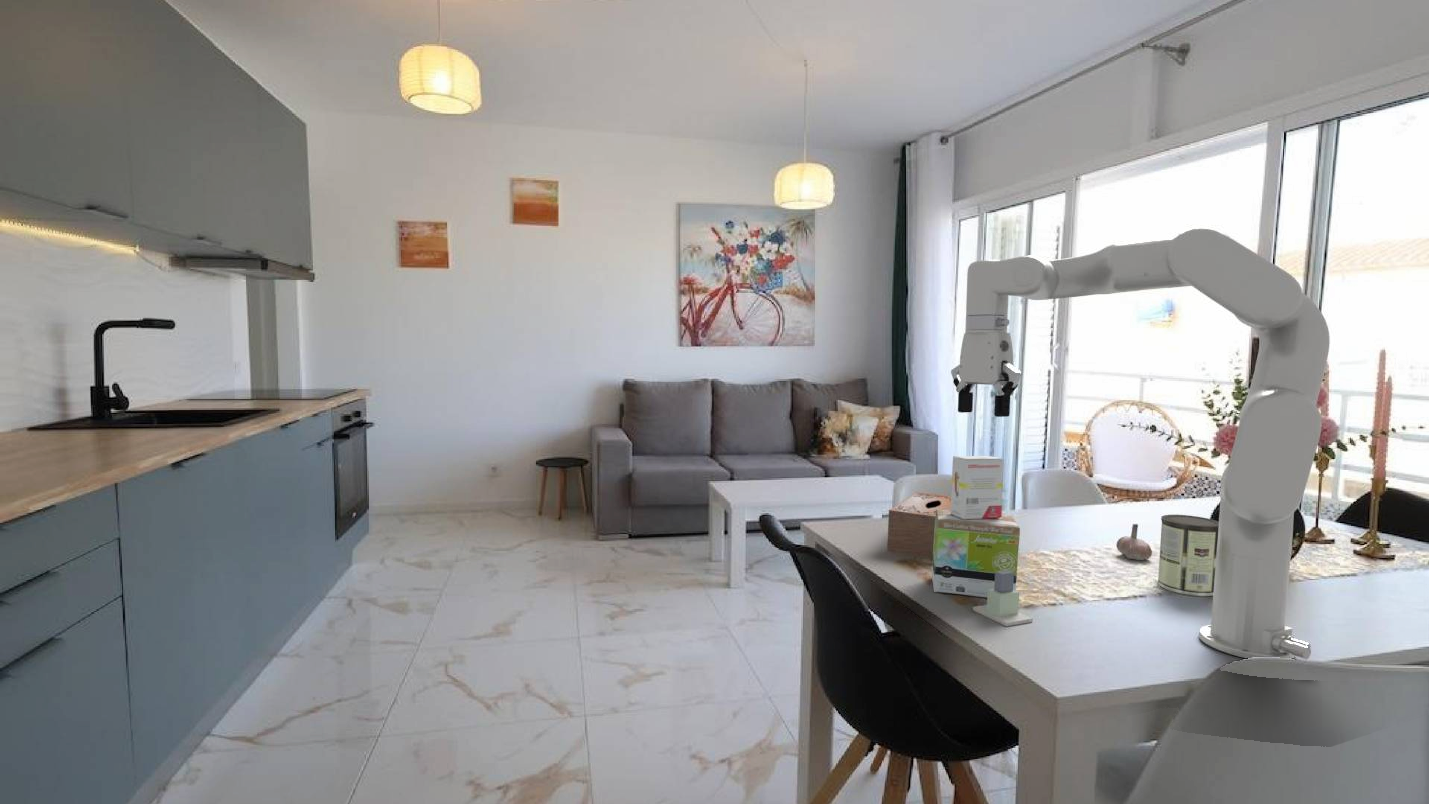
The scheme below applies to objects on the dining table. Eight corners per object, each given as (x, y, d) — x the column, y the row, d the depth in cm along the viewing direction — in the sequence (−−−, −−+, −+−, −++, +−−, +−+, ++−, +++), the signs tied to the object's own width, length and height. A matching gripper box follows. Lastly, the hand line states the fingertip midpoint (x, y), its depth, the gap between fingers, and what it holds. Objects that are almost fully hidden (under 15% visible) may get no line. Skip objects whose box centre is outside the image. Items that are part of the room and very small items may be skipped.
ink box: (988, 512, 143) (991, 454, 142) (1002, 518, 139) (1005, 458, 138) (948, 513, 142) (951, 454, 141) (961, 519, 137) (964, 458, 136)
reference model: (1032, 621, 125) (1035, 577, 124) (1006, 626, 123) (1008, 580, 122) (998, 606, 132) (1000, 563, 132) (972, 610, 130) (975, 567, 129)
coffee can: (1182, 578, 151) (1187, 513, 150) (1230, 594, 142) (1235, 525, 140) (1144, 581, 149) (1149, 515, 147) (1189, 598, 139) (1195, 527, 138)
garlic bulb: (1121, 551, 172) (1124, 518, 171) (1156, 558, 166) (1158, 524, 166) (1111, 557, 166) (1113, 523, 166) (1146, 564, 161) (1148, 529, 161)
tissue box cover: (915, 529, 189) (917, 492, 189) (972, 537, 182) (974, 498, 181) (887, 552, 167) (888, 510, 166) (950, 562, 160) (952, 518, 159)
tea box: (933, 593, 138) (936, 519, 137) (931, 578, 148) (934, 507, 147) (1016, 602, 135) (1020, 525, 133) (1008, 585, 144) (1012, 513, 143)
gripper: (1036, 324, 131) (1032, 417, 132) (969, 327, 147) (966, 410, 148) (1005, 323, 128) (1001, 418, 129) (940, 326, 144) (937, 411, 145)
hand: (982, 414), depth 138 cm, fingers open, 9 cm apart
